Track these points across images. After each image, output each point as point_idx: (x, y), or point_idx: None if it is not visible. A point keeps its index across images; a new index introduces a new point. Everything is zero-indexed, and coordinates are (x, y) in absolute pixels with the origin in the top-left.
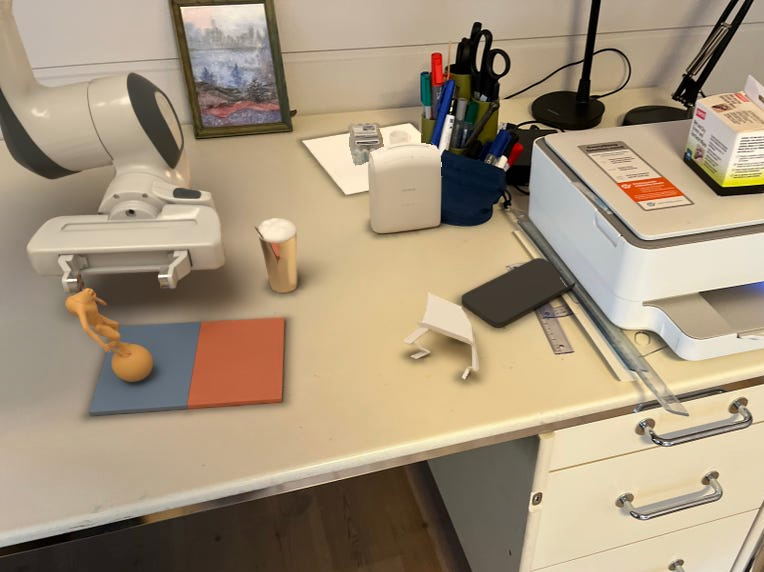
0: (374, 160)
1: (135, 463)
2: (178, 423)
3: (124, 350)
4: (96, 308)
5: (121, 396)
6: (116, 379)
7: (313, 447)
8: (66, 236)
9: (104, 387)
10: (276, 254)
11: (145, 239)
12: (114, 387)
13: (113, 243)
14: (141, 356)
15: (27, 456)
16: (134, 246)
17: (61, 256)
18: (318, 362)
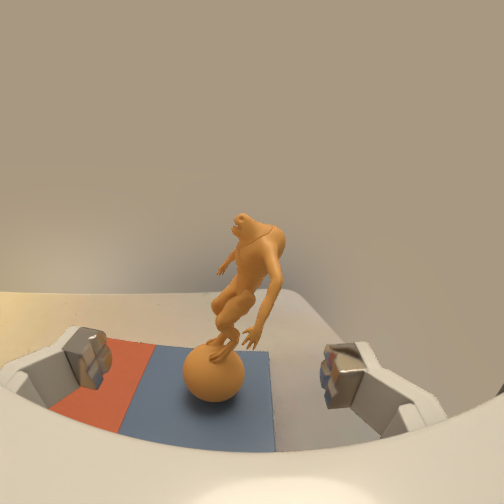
0: None
1: (212, 312)
2: (170, 338)
3: (216, 347)
4: (235, 251)
5: None
6: (245, 392)
7: (80, 301)
8: (500, 481)
9: (259, 381)
10: None
11: (57, 459)
12: (245, 380)
13: (230, 473)
14: (193, 349)
15: (311, 324)
16: (120, 437)
17: (442, 418)
18: None
